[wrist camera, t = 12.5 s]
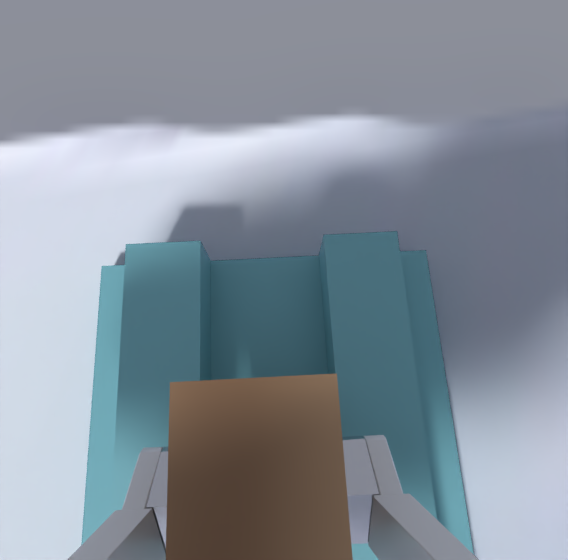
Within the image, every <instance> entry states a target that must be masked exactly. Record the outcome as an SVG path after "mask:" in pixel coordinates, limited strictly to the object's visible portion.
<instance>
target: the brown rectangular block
mask: <svg viewBox="0 0 568 560" xmlns="http://www.w3.org/2000/svg"><path fill="white" fill-rule="evenodd" d="M166 560H353V557H352V545H351V534H350V522H349V510H348V498H347V487H346V475H345V463H344V451H343V439H342V428H341V416H340V404H339V392H338V381H337V373H336V374H317V375H298V376H278V377H259V378H240V379H221V380H202V381H183V382H170V397H169V439H168V480H167V522H166Z"/></svg>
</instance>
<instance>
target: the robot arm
mask: <svg viewBox="0 0 568 560" xmlns="http://www.w3.org/2000/svg"><path fill="white" fill-rule="evenodd" d="M342 439H343V451H344V463H345V475H346V487H347V498H348V510H349V522H350V534H351V544H365V543H368V546H369V547H370V548H371V550H372V551H373V552H374V554H375V555H376V557H377V558H378V559H379V560H479V559H478V558H477V557H476V556H475V555H474V554H473V553H471V552H470V551H469V550H468V549H467V548H466V547H465V546H464V545H463V544H462V543H461V542H460V541H459V540H458V539H457V538H456V537H455V536H454V535H453V534H452V533H450V532H449V531H448V530H447V529H446V528H445V527H444V526H443V525H442V524H441V523H440V522H439V521H438V520H437V519H436V518H435V517H434V516H433V515H432V514H431V513H429V512H428V511H427V510H426V509H425V508H424V507H423V506H422V505H421V504H420V503H419V502H418V501H417V500H416V499H415V498H414V497H413V496H412V495H411V494H403V491H402V487H401V484H400V481H399V478H398V475H397V472H396V468H395V465H394V462H393V459H392V456H391V452H390V449H389V446H388V443H387V440H386V438H385V436H384V435H370V436H348V437H342ZM167 480H168V447H146V448H143V449H142V451H141V452H140V454H139V457H138V460H137V463H136V466H135V469H134V472H133V475H132V479H131V482H130V485H129V488H128V491H127V494H126V498H125V501H124V504H123V507H122V510H115V511H114V512H113V513H112V514H111V515H110V516H109V517H108V519H107V520H106V521H105V522H104V523H103V524H102V525H101V526H100V527H99V528H98V529H97V530H96V531H95V532H94V533H93V534H92V535H91V536H90V537H89V538H88V539H87V540H86V541H85V542H84V543H83V544H82V545H81V546H80V547H79V548H78V549H77V550H76V551H75V552H74V553H73V554H72V556H71V557H70V558H69V559H68V560H166V522H167Z"/></svg>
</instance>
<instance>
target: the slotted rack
mask: <svg viewBox="0 0 568 560" xmlns="http://www.w3.org/2000/svg"><path fill="white" fill-rule="evenodd" d="M336 373H337V381H338V392H339V404H340V416H341V428H342V437H348V436H370V435H384V436H385V438H386V440H387V443H388V446H389V449H390V452H391V456H392V459H393V462H394V465H395V468H396V472H397V475H398V478H399V481H400V484H401V487H402V491H403V494H411V495H412V496H413V497H414V498H415V499H416V500H417V501H418V502H419V503H420V504H421V505H422V506H423V507H424V508H425V509H426V510H427V511H428V512H429V513H431V514H432V515H433V516H434V517H435V518H436V519H437V520H438V521H439V522H440V523H441V524H442V525H443V526H444V527H445V528H446V529H447V530H448V531H449V532H450V533H452V534H453V535H454V536H455V537H456V538H457V539H458V540H459V541H460V542H461V543H462V544H463V545H464V546H465V547H466V548H467V549H468V550H469V551H470V552H471V553H473V548H472V541H471V535H470V529H469V522H468V516H467V509H466V503H465V497H464V490H463V484H462V477H461V471H460V465H459V458H458V452H457V446H456V439H455V433H454V426H453V420H452V414H451V407H450V401H449V394H448V388H447V382H446V375H445V369H444V363H443V356H442V350H441V343H440V337H439V331H438V324H437V318H436V311H435V305H434V299H433V292H432V286H431V280H430V273H429V267H428V260H427V254H426V250H420V251H400V248H399V241H398V234H397V231H391V232H370V233H350V234H329V235H324V236H323V240H322V244H321V248H320V252H319V255H318V256H298V257H277V258H257V259H237V260H216V261H211V260H210V258H209V256H208V255H207V253H206V251H205V249H204V247H203V245H202V243H201V241H184V242H163V243H143V244H126V251H125V265H114V266H102V270H101V283H100V297H99V311H98V325H97V338H96V352H95V366H94V379H93V393H92V407H91V421H90V434H89V448H88V462H87V475H86V489H85V503H84V517H83V530H82V544H83V543H84V542H85V541H86V540H87V539H88V538H89V537H90V536H91V535H92V534H93V533H94V532H95V531H96V530H97V529H98V528H99V527H100V526H101V525H102V524H103V523H104V522H105V521H106V520H107V519H108V517H109V516H110V515H111V514H112V513H113V512H114V511H115V510H122V507H123V504H124V501H125V498H126V494H127V491H128V488H129V485H130V482H131V479H132V475H133V472H134V469H135V466H136V463H137V460H138V457H139V454H140V452H141V451H142V449H143V448H146V447H168V439H169V397H170V382H183V381H202V380H221V379H240V378H259V377H278V376H298V375H317V374H336ZM82 544H81V545H82ZM351 545H352V557H353V560H379V559H378V558H377V557H376V555H375V554H374V552H373V551H372V550H371V548H370V547H369V546H368V543H365V544H351Z"/></svg>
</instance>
